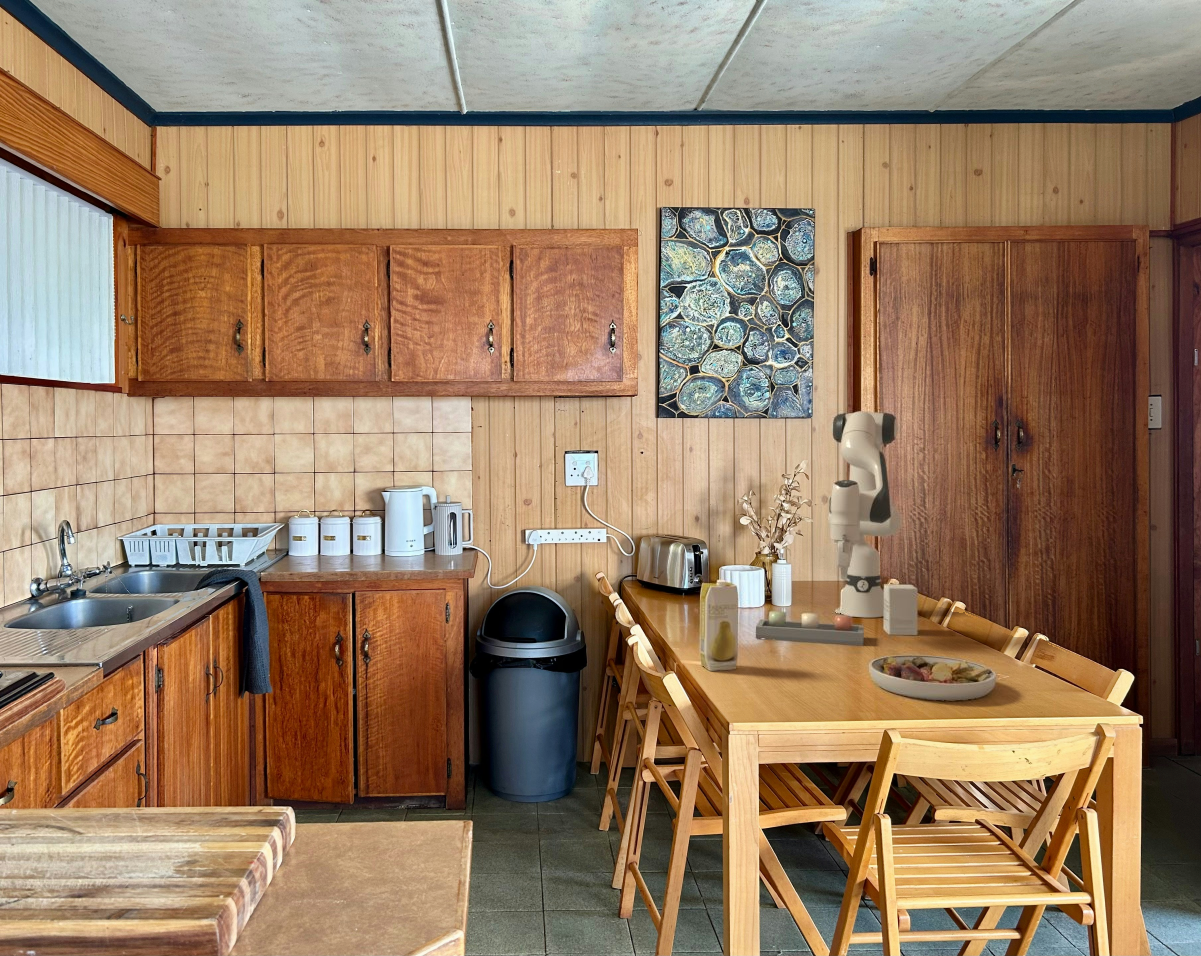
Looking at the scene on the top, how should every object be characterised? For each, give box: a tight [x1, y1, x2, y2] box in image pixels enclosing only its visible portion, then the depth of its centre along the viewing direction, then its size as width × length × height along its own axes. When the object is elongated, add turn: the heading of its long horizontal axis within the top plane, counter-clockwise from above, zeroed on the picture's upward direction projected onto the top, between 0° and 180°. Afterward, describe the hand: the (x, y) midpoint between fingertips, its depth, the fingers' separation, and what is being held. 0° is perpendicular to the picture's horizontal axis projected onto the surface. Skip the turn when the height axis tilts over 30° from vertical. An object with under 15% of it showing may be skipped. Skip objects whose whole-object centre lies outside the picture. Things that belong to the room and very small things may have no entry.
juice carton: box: [699, 579, 739, 672], centre depth 252 cm, size 9×8×24 cm
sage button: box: [768, 610, 787, 627], centre depth 294 cm, size 5×5×4 cm
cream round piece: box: [801, 612, 820, 629], centre depth 291 cm, size 5×5×4 cm
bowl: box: [868, 654, 997, 702], centre depth 235 cm, size 30×30×8 cm
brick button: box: [834, 614, 853, 631], centre depth 288 cm, size 5×5×4 cm
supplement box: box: [883, 583, 919, 636], centre depth 300 cm, size 9×9×15 cm
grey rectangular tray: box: [755, 618, 865, 647], centre depth 291 cm, size 12×32×4 cm, turn 74°
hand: (844, 578), depth 287 cm, fingers closed
